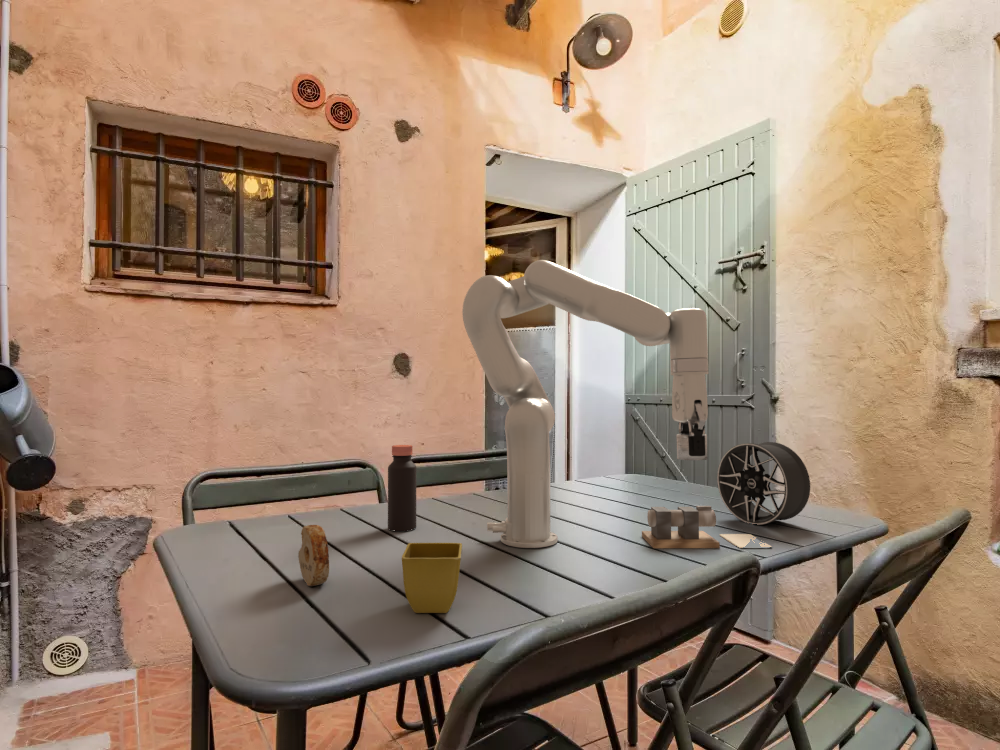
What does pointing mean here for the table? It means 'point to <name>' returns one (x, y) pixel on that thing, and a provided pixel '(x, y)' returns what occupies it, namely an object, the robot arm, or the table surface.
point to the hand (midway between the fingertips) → (692, 453)
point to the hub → (684, 448)
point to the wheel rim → (762, 482)
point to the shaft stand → (680, 527)
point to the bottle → (402, 489)
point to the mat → (741, 539)
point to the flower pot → (431, 575)
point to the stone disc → (314, 555)
